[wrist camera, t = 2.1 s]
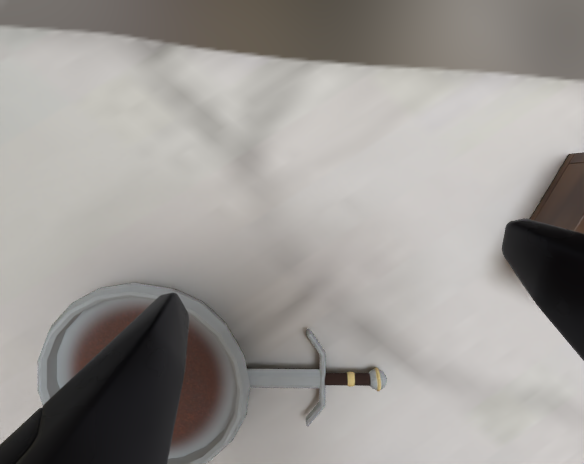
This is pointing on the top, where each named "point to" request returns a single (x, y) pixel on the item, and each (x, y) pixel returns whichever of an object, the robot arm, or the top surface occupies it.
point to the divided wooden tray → (565, 197)
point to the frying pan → (198, 371)
